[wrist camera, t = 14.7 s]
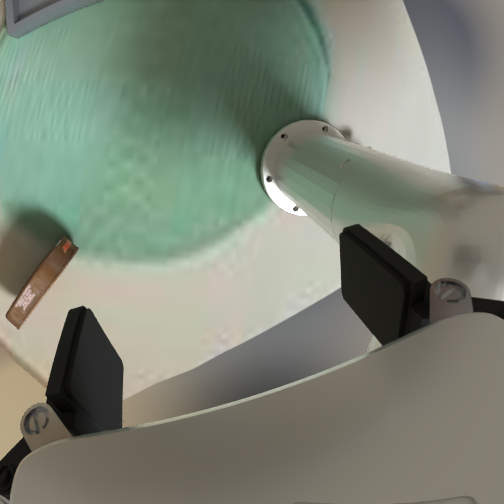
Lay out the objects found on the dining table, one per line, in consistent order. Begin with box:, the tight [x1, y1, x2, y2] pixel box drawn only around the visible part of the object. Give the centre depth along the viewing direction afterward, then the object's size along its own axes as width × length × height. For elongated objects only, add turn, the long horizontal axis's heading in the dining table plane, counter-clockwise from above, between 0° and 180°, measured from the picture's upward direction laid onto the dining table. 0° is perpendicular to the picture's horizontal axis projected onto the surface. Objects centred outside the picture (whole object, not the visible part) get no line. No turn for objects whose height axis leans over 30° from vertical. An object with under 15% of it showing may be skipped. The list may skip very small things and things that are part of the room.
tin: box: [6, 236, 79, 330], centre depth 33 cm, size 15×3×8 cm, turn 128°
